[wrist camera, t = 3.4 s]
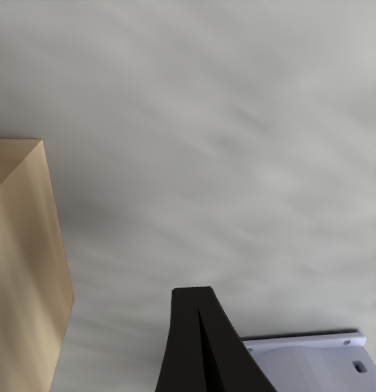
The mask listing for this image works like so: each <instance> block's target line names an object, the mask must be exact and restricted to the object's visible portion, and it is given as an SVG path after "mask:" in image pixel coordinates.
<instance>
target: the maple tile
mask: <svg viewBox="0 0 376 392" xmlns="http://www.w3.org/2000/svg"><path fill="white" fill-rule="evenodd" d="M73 302H74V296H73V291H72V286H71V281H70V276H69V271H68V266H67V261H66V256H65V251H64V246H63V241H62V236H61V231H60V226H59V221H58V216H57V211H56V206H55V201H54V196H53V191H52V186H51V181H50V176H49V171H48V166H47V161H46V156H45V151H44V146H43V141H42V139H0V392H49V391H50V387H51V383H52V379H53V376H54V372H55V368H56V365H57V361H58V357H59V354H60V350H61V346H62V342H63V339H64V335H65V331H66V328H67V324H68V320H69V317H70V313H71V309H72V305H73Z"/></svg>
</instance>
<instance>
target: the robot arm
mask: <svg viewBox="0 0 376 392" xmlns="http://www.w3.org/2000/svg"><path fill="white" fill-rule="evenodd" d="M366 339H367V338H366V337H365V335H364V334H363V333H361V332H356V333H343V334H330V335H316V336H303V337H290V338H276V339H263V340H250V341H242V340H241V339H240V337H239V336H238V334H237V332H236V331H235V329H234V327H233V326H232V324H231V322H230V321H229V319H228V317H227V315H226V314H225V312H224V310H223V308H222V307H221V305H220V303H219V301H218V299H217V297H216V295H215V293H214V291H213V289H212V288H211V287H210V286H207V287H186V288H175V289H173V290H172V299H171V319H170V330H169V335H168V341H167V346H166V351H165V355H164V359H163V363H162V367H161V371H160V375H159V379H158V383H157V386H156V390H155V392H376V365H375V363H374V362H373V360H372V359H371V357H370V356H369V354H368V353H367V351H366V350H365V348H364V347H363V345H364V343H365V342H366Z"/></svg>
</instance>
